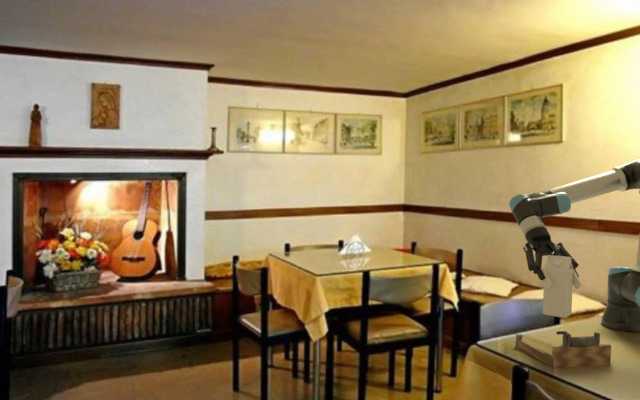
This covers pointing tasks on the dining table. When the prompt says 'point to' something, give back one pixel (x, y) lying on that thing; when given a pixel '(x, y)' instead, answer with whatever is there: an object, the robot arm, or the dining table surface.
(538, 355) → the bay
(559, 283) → the milk carton
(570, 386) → the dining table surface
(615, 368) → the dining table surface
